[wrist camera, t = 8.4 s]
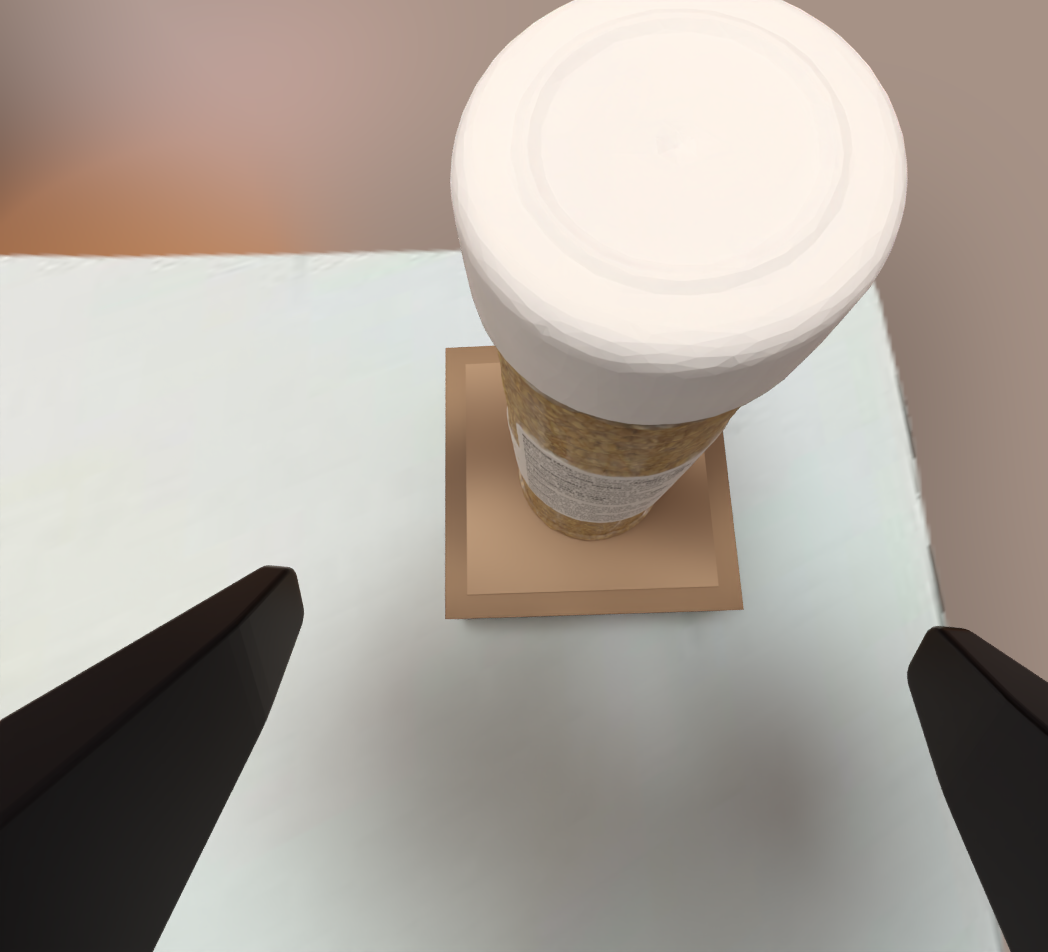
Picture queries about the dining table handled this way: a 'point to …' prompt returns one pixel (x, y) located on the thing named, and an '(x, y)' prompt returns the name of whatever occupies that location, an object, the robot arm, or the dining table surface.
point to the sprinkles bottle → (664, 231)
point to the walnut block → (556, 559)
